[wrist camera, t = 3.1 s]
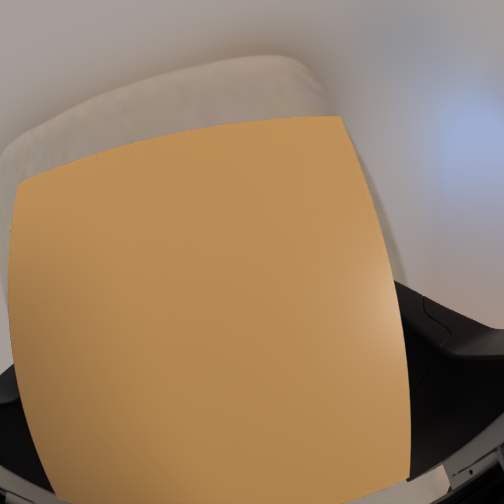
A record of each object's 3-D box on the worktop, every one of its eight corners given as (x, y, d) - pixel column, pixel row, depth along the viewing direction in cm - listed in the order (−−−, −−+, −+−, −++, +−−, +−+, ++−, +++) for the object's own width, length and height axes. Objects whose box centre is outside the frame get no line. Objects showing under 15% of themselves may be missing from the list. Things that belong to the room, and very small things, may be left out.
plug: (282, 357, 15) (409, 477, 2) (202, 369, 14) (57, 498, 2) (269, 278, 16) (339, 116, 3) (189, 291, 15) (18, 183, 3)
